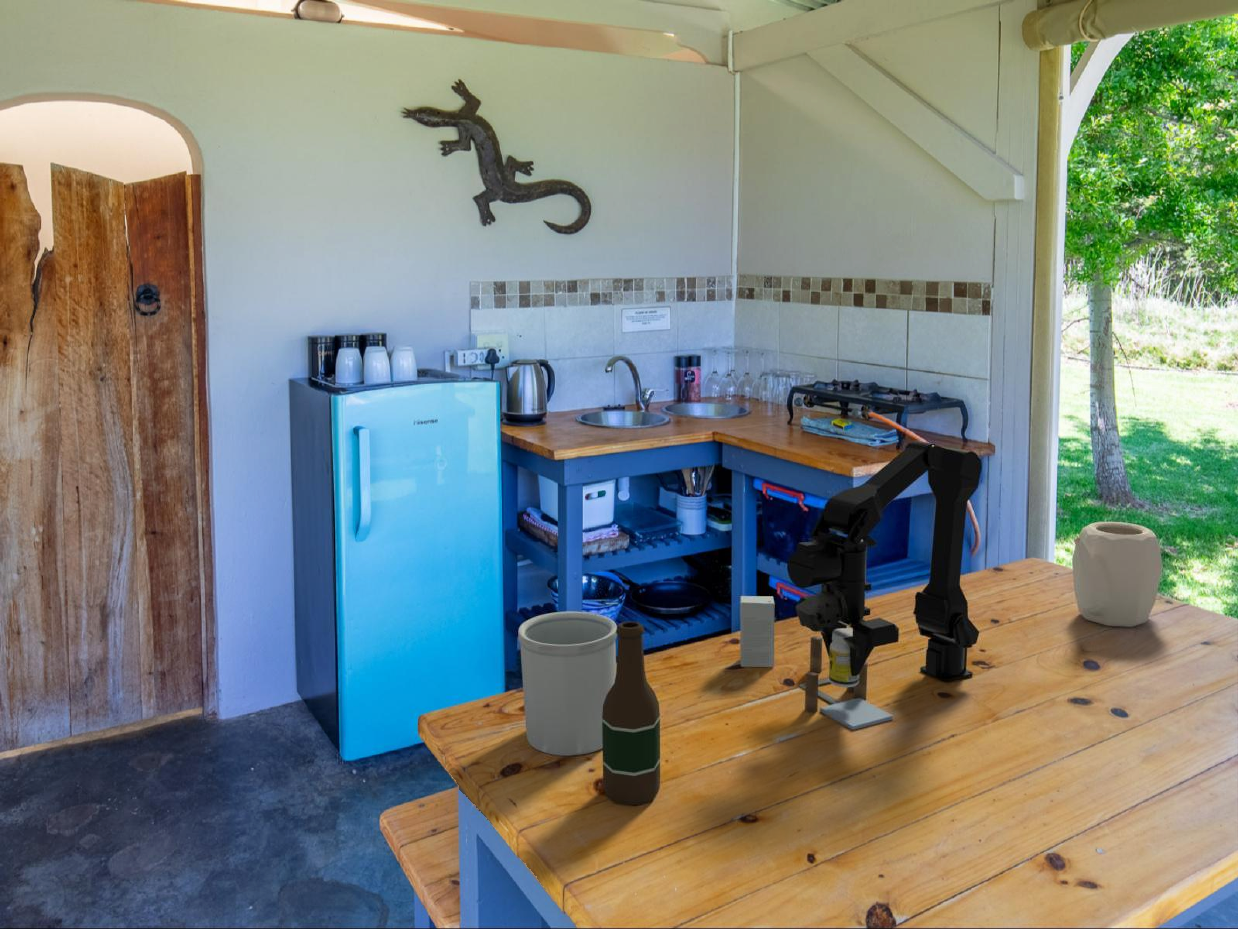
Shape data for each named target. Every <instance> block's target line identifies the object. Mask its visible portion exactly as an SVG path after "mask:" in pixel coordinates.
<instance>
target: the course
mask: <svg viewBox="0 0 1238 929" xmlns="http://www.w3.org/2000/svg"><path fill="white" fill-rule="evenodd" d="M809 658H810V659H809V671H810V672H806V673H805V682H804V683H800V684H799V687H800V688H802V689H803V690H805V691H804V692H805V695H804V710H805V712H806V713H811V714H812V713H813V714H814V713H818V711H819V710H818V708H819V706H818V705H819V703H818V702H819V700H818V699H821V700H823V701H825V702H827V703H828V704H829V705H832V704H836V703H840V702H841V701H840V700H838V699H837V698H834V697H833V696H831V695H829V694H827V693H825V692H823V690H822V691H821V690H820V689H819V687H821V686H824V685H829V684H831V683H830V681H829V677H826V678H822V679H819V674H818V673H821V672H822V671H823V670H822V668H823V667H822V666H823V665H822V664H823V662H822V661H823V638H822V636H817V635H813V636H810V654H809ZM867 686H868V662H867V661H866V662H865V664H864V665H863V667H862V669H861V671H860V673H859V683H858V684H857V685H856V686H853V687H846V692H848V693H851V694H852V693H853V699H856V698H861V699H863V700H865V701H866V700H867V689H868V688H867Z"/></svg>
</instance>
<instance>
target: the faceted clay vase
mask: <svg viewBox="0 0 1238 929" xmlns="http://www.w3.org/2000/svg"><path fill="white" fill-rule="evenodd" d="M1072 541H1073V543H1074V544H1075V545H1074V550H1073V554H1072V558H1071V561H1072V563H1071V564H1072V578H1073V591H1074V595H1075V600H1076V605H1077V608H1078V612H1079V613H1080V614H1081V616H1082V617H1083V619H1085V620H1086V621H1090V622H1094V623H1098V624H1101V625H1103V626H1107V627H1123V628H1124V627H1127V628H1132V627H1135V626H1138V625H1141V624H1144V623H1146V622H1147V621H1148V619H1149V617H1150V615H1151V612H1152V610H1153V607H1154V605H1155V604H1156V600H1157V599H1156V598H1157V595H1158V590H1159V588H1160V583H1161V582H1160V581H1161V578H1162V574H1163V565H1162V564H1163V562H1162V552H1161V548H1160V545H1159V544H1160V543H1159V541H1158V538H1157V535H1156V534H1155V532H1154V531H1152V530H1151V529H1149V528H1147V526H1146V527H1145V526H1143V525H1139V524H1135V523H1131V522H1130V523H1129V522H1124V521H1123V522H1122V521H1097V522H1092V523H1090V524H1088V525H1086V526H1084V527H1083V528H1082V529H1081V531H1080V534H1079V535H1078V537H1075V538H1074V539H1072Z"/></svg>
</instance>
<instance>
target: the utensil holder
mask: <svg viewBox="0 0 1238 929" xmlns="http://www.w3.org/2000/svg"><path fill="white" fill-rule="evenodd" d="M617 626H618V625H617V624H616V622H615V621H614V620H613V619H611V618H609V617H608V616H605V615H602V614H598V613H595V612H594V613H593V612H587V611H571V610H569V611H558V612H557V611H556V612H550V613H544V614H539V615H537V616H534V617H532V618H529V619H528V620H526V621H524V622H523V623H521V624H520V626H519V627H518V629H517V630H518V633H517V634H518V635H517V636H518V637H517V638H518V641H519V644H520V658H521V659H520V660H521V661H520V662H521V674H522V690H523V694H522V695H523V707H524V718H525V731H526V732H525V733H526V740H527V743H528V744H529V745H530V746H531V747H532V748H534V749H535V750H537V751H540V752H543V753H546V754H549V755H553V756H562V757H563V756H565V757H566V756H567V757H570V756H577V755H585V754H586V755H587V754H590V753H594V752H598V751H599V750H603V743H602V713H603V704H604V701H605V698H606V696H607V694H608V692H609V691H610V689H611V688H612V686H613V684H614V683H615V677H616V669H617V653H616V651H617V650H616V640H617V638H618V634H617V633H616V630H617Z"/></svg>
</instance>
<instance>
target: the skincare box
mask: <svg viewBox="0 0 1238 929" xmlns="http://www.w3.org/2000/svg"><path fill="white" fill-rule="evenodd" d="M739 597H740V601H739V604H740V606H739V609H740V611H739V615H740V624H739V625H740V653H739V654H740V667H742V668H743V667H744V668H750V667H751V668H774V667H775V605H776V603H775V600H774V596H772V595H771V596H765V595H764V596H759V595H755V596H752V595H751V596H750V595H741V596H739Z"/></svg>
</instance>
